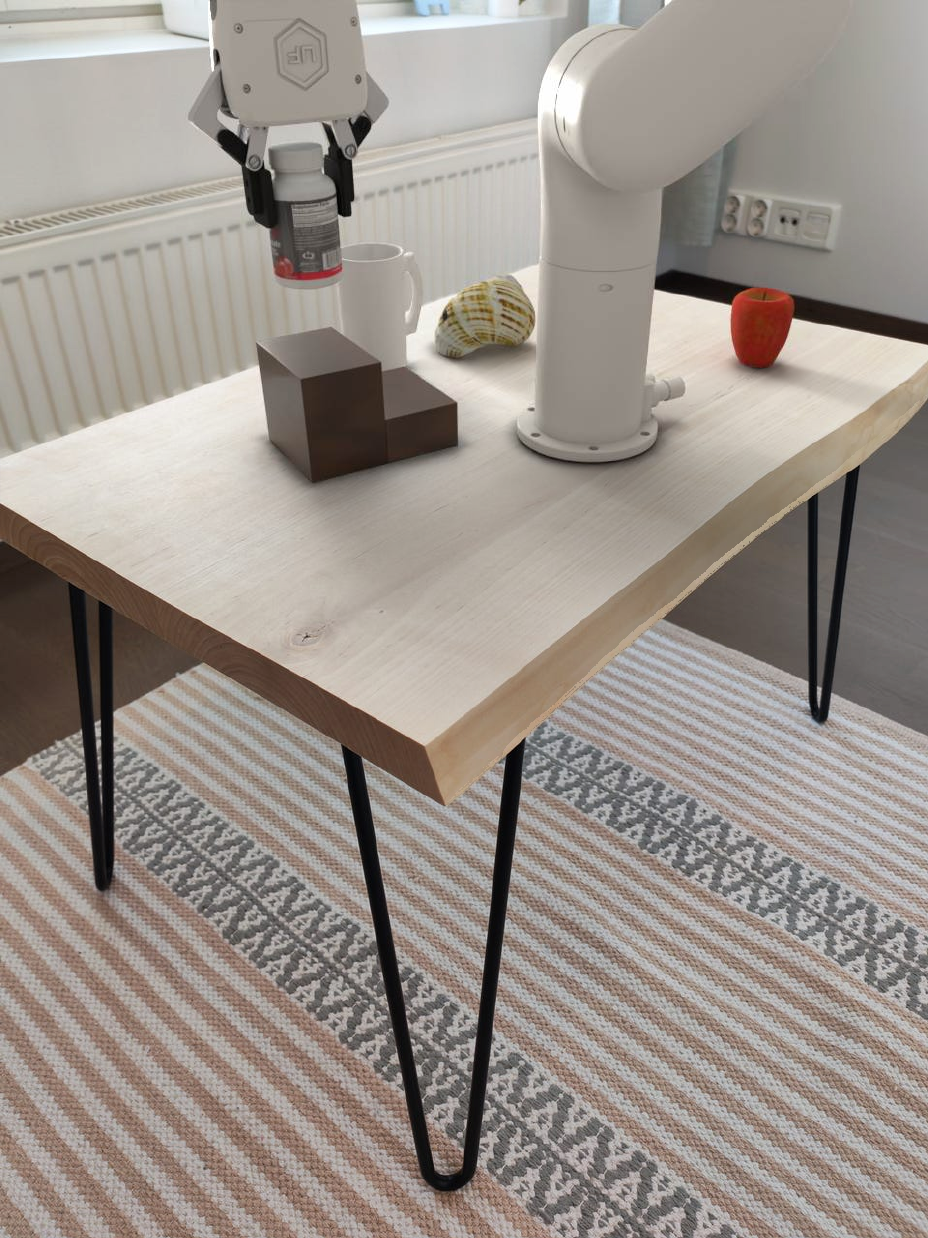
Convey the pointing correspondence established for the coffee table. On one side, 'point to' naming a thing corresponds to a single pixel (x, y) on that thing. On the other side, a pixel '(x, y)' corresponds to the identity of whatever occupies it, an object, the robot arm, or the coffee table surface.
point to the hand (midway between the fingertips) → (302, 216)
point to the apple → (760, 325)
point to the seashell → (485, 317)
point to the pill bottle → (304, 218)
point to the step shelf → (347, 406)
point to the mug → (379, 300)
